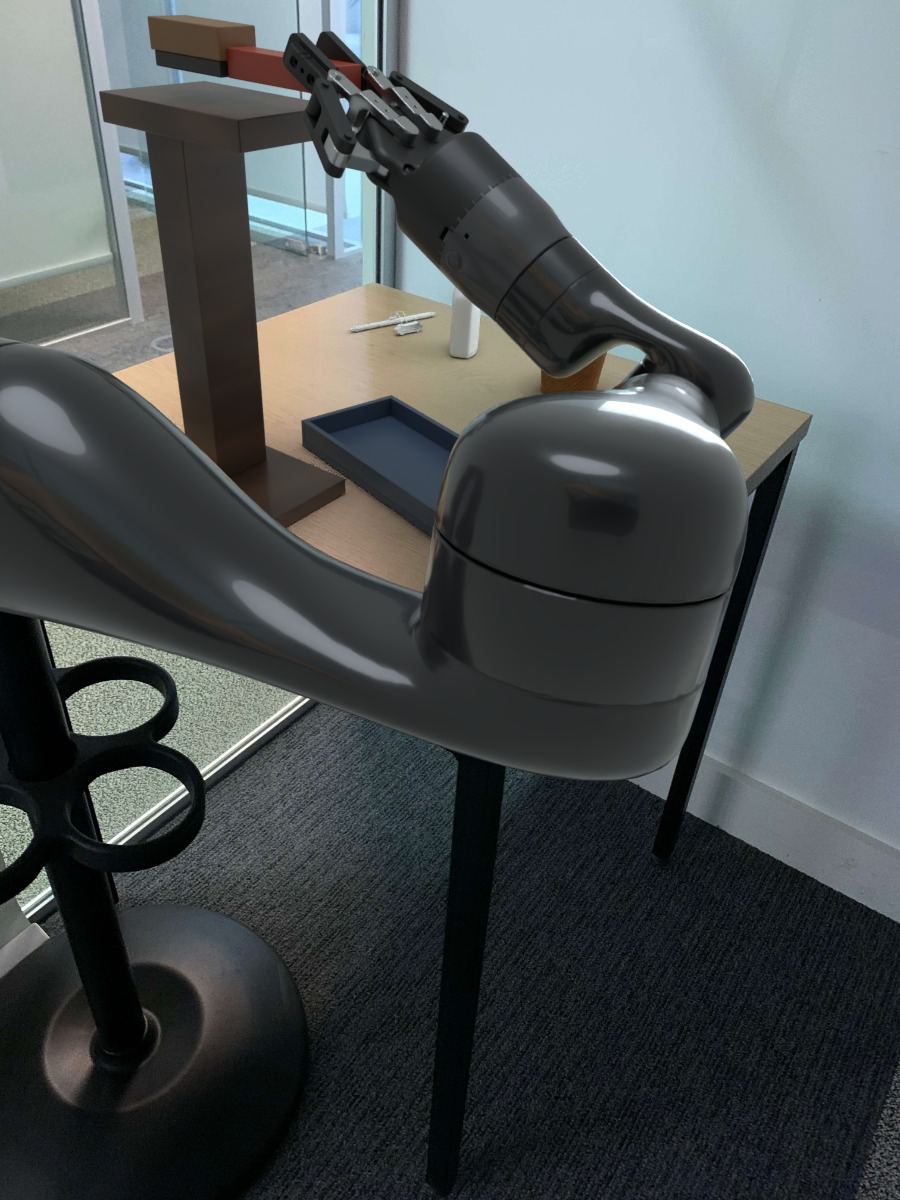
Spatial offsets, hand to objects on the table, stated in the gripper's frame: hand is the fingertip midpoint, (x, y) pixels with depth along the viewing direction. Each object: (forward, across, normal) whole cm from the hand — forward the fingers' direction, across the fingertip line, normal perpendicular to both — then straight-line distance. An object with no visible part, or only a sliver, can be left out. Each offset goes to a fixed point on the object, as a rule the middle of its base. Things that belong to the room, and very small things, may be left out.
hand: (305, 45), depth 59 cm
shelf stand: (-11, 0, +35) cm, 37 cm away
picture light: (+3, -42, +43) cm, 61 cm away
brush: (+3, 0, +4) cm, 5 cm away
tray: (-19, -12, +31) cm, 38 cm away
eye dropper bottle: (-7, -42, +38) cm, 57 cm away
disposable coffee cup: (-21, -40, +30) cm, 54 cm away
